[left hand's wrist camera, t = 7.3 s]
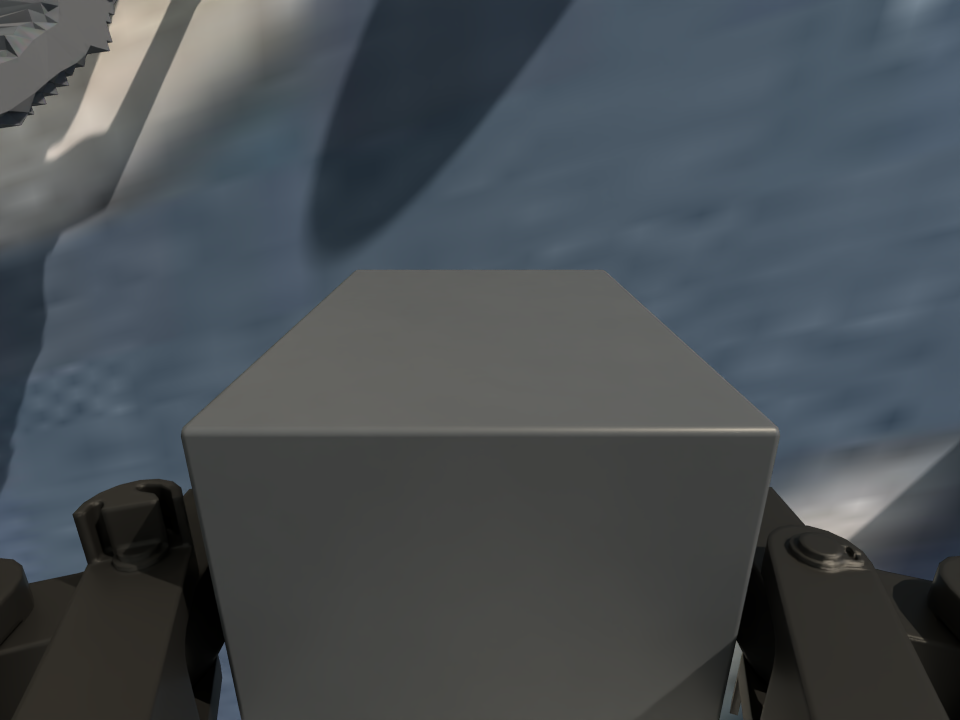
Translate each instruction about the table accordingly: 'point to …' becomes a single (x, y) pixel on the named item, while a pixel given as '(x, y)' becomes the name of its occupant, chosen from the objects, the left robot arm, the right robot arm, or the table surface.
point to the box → (480, 506)
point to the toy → (45, 49)
